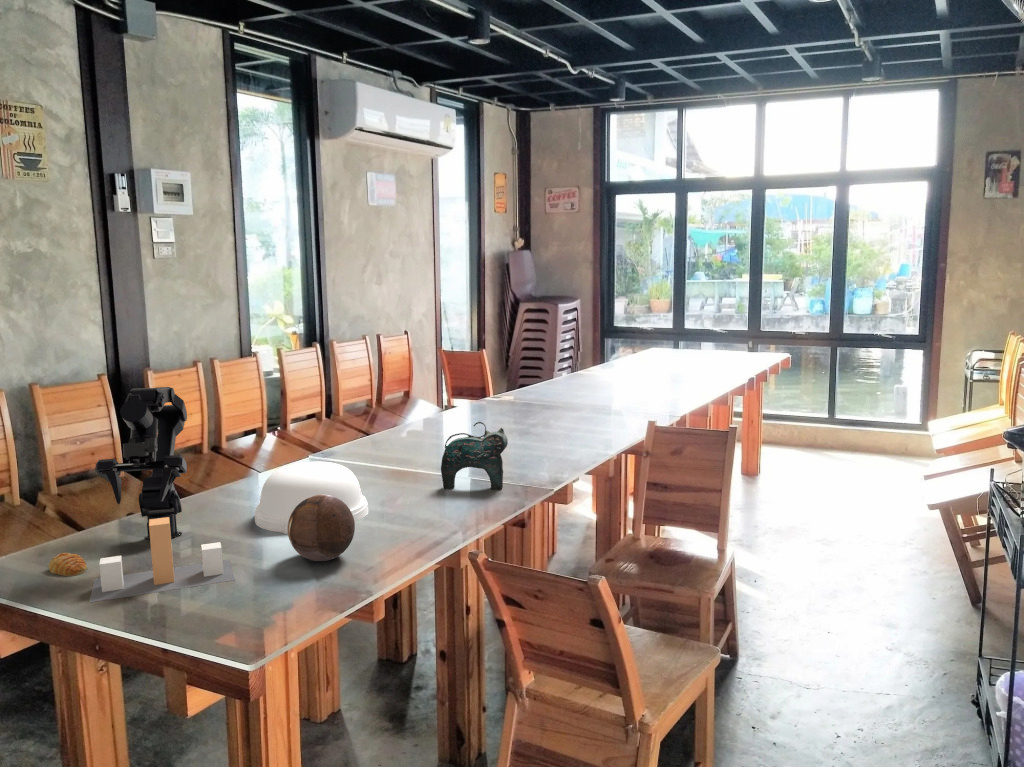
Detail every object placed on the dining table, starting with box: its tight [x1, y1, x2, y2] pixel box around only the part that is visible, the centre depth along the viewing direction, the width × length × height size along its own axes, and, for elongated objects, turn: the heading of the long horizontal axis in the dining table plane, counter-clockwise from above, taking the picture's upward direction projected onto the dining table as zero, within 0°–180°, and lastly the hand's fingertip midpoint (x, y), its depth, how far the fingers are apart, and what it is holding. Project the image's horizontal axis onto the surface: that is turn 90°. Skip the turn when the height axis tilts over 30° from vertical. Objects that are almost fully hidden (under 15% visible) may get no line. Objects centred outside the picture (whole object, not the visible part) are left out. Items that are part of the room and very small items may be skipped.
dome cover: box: [254, 461, 369, 535], centre depth 230 cm, size 32×30×14 cm
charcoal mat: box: [89, 559, 235, 603], centre depth 185 cm, size 14×28×1 cm, turn 112°
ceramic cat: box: [440, 421, 509, 490], centre depth 254 cm, size 20×6×20 cm, turn 84°
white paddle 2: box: [200, 541, 223, 577], centre depth 188 cm, size 4×4×6 cm
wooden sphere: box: [287, 495, 356, 562], centre depth 196 cm, size 15×15×15 cm
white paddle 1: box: [98, 555, 124, 592], centre depth 180 cm, size 4×4×6 cm
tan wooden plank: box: [149, 517, 174, 585], centre depth 184 cm, size 5×4×13 cm
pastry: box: [48, 552, 88, 577], centre depth 192 cm, size 9×7×4 cm
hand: (140, 502), depth 194 cm, fingers open, 9 cm apart
